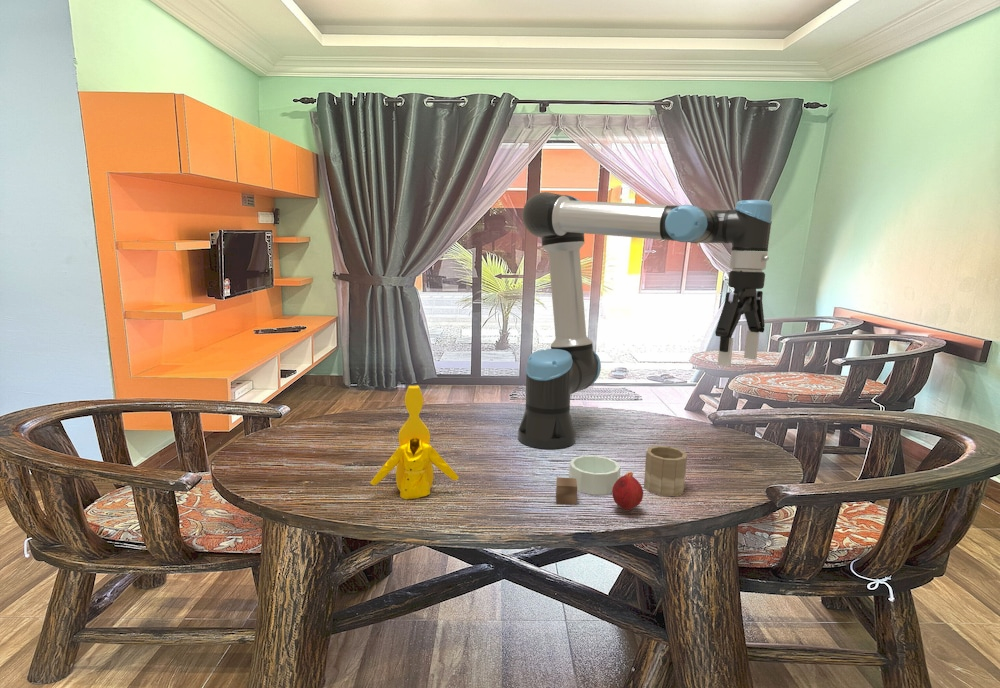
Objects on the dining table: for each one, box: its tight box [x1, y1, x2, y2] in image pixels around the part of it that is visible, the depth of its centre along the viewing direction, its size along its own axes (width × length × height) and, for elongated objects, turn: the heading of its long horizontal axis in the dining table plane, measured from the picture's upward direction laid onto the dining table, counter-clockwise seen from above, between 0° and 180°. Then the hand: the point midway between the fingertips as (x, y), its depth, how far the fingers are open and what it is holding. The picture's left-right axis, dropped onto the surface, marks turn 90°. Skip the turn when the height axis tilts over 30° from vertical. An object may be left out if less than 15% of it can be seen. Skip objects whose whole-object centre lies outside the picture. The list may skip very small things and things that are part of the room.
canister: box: [643, 445, 688, 497], centre depth 118 cm, size 8×8×8 cm
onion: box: [611, 471, 644, 512], centre depth 108 cm, size 6×6×8 cm
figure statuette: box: [369, 384, 460, 500], centre depth 113 cm, size 18×8×22 cm, turn 100°
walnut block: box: [555, 476, 578, 506], centre depth 112 cm, size 4×4×4 cm
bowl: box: [568, 455, 621, 496], centre depth 120 cm, size 10×10×4 cm
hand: (737, 362), depth 130 cm, fingers open, 13 cm apart
